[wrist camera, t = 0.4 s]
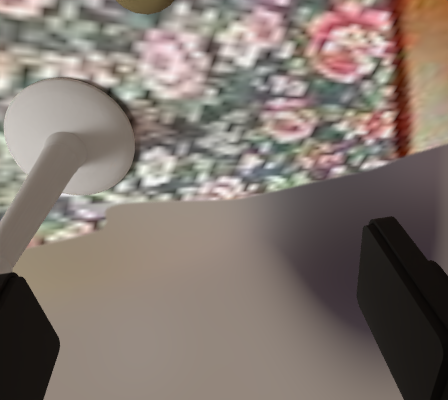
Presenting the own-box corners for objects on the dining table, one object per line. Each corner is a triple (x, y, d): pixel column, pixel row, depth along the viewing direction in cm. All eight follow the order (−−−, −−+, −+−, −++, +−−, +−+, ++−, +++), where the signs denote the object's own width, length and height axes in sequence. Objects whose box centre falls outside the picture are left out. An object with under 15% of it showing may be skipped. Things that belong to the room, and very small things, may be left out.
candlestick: (35, 199, 43) (-179, 541, 18) (-17, 87, 36) (-482, 391, 11) (147, 184, 43) (88, 505, 18) (117, 69, 36) (-46, 332, 11)
